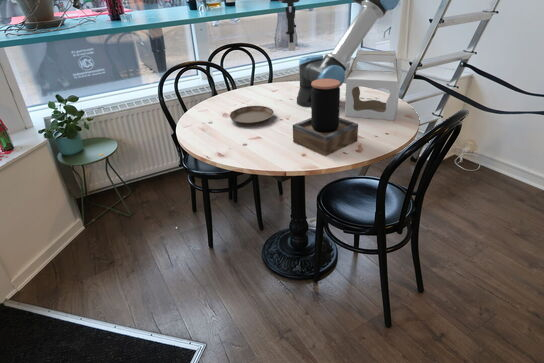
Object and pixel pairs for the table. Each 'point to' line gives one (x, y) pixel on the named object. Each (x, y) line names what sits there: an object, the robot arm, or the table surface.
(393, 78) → the gable box
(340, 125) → the square wooden box
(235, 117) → the plant saucer
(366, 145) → the table surface
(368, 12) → the robot arm
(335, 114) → the coffee jar
